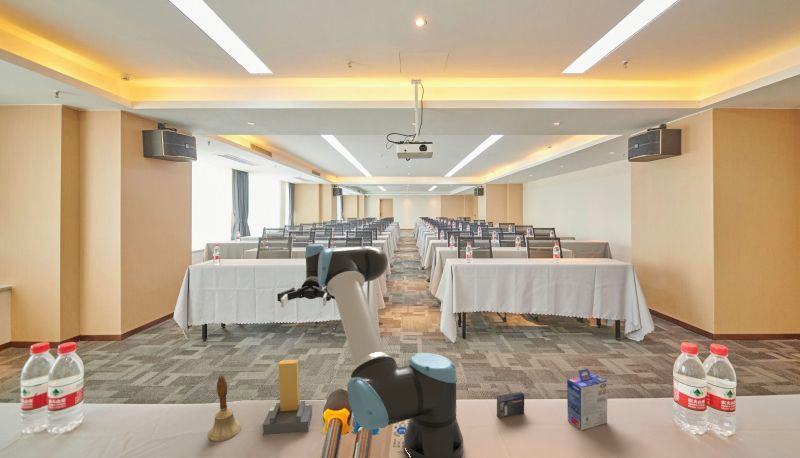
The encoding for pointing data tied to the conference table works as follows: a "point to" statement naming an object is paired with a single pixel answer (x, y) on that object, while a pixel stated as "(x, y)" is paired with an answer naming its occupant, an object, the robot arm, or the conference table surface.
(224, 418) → the hand bell
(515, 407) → the mini dv tape
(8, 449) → the conference table surface
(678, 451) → the conference table surface
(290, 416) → the stepped grey plinth
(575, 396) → the ink cartridge box
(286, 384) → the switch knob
